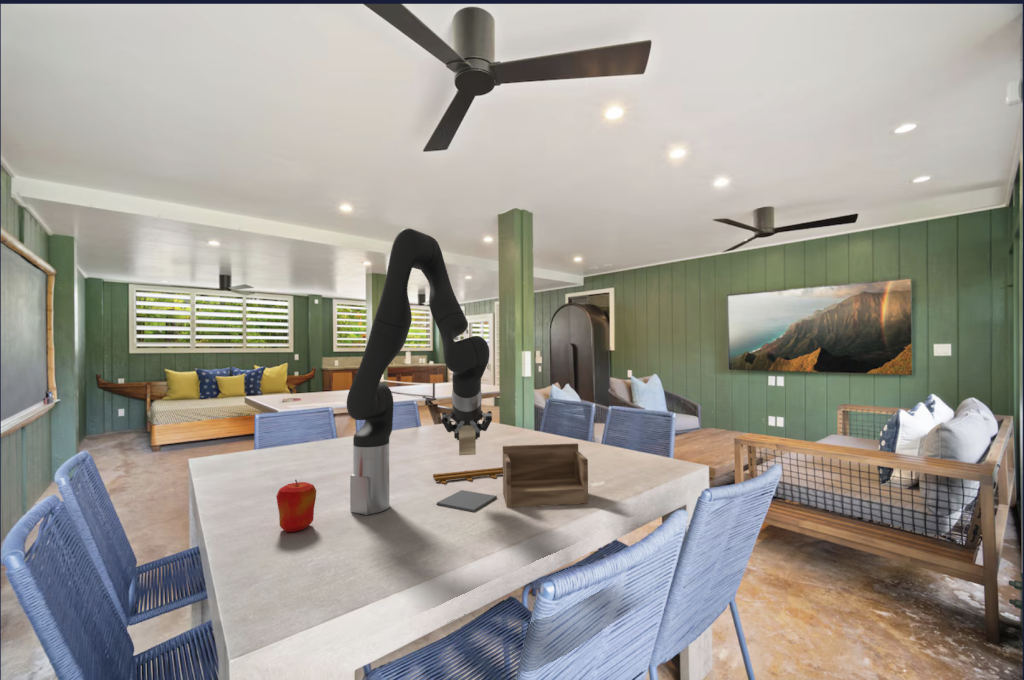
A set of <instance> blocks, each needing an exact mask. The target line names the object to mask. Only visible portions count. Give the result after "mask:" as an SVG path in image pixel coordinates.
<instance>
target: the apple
mask: <svg viewBox="0 0 1024 680" xmlns="http://www.w3.org/2000/svg"><path fill="white" fill-rule="evenodd" d="M275 498H276V503H277V510H278V515H279V520H278V521H279V527H280V528H281V529H282V530H283V531H284V532H286V533H295V532H299V531H302V530H304V529H307V528H308V527H309V526H310V525H311V524H312V523H313V521H314V515H315V514H314V512H315V505H316V499H317V489H316V487H315V486H314V484H313V483H309V482H306V481H298V480H297V479H295V482H292V483H288V484H286V485H284V486H282V487H280V488H279V489H278V491H277V494H276V497H275Z"/></svg>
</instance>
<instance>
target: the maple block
mask: <svg viewBox="0 0 1024 680" xmlns="http://www.w3.org/2000/svg"><path fill="white" fill-rule="evenodd" d="M476 442H477V440H476V437H475V429H473V427H472V425H465V426H462V428H461V430H459V440H458V454H459V456H476V455H477V452H476V451H477V450H476V449H477V448H476V446H477V445H476V444H477V443H476Z"/></svg>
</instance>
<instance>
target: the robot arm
mask: <svg viewBox="0 0 1024 680" xmlns="http://www.w3.org/2000/svg"><path fill="white" fill-rule="evenodd" d="M412 269H415V270H420V271H421V272H422V274H423V276H424V277H425V278H426V280H427V282H428V284H429V285H428V286H429V299H428V303H429V304H428V305H429V309H430V314H431V316H432V318H433V320H434V322H435V325H436V327H437V329H438V331H439V334H440V338H441V342H442V350H443V351H442V353H443V359H444V364H445V366H446V367H447V369H448V370H449V371H451V372H452V377H451V378H452V379H451V380H452V390H451V391H452V393H451V402H452V403H451V404H452V411H451V413H448V414H447V413H446V412H442V413H441V423H442V425H443V427H444V428H445V430H446V432H447V433H452V432H453V434H454V439H456V441H459V430H461V428H462V426H465V425H472V427H473V429H475V437H476V441H477V440H478V438H479V439H480V437H481V431H482V432H486V431H487V430H488V428H489V426H490V424H491V422H492V420H493V412H492V411H489V410H488V411H487V412H484V411H483V409H482V401H483V400H482V399H483V397H482V395H483V393H482V392H483V391H482V378H483V375H484V373H485V370H486V368H487V367H488V364H489V360H490V348H489V344H488V342H487V341H486V339H485V338H483V337H482V336H479V335H473V336H469V337H467V338H463V339H461V340H460V339H459V340H457V341H456V340H455V339H456V338H458V336H461V335H462V334H463V333H465V332H466V330H467V329H468V326H469V322H468V319H467V318H466V315H465V313H464V311H463V309H462V306H461V304H460V303H459V301H458V299H457V297H456V294H455V292H454V289H453V288H452V287H453V286H452V284H451V281H450V276H449V273H448V269H447V266H446V263H445V259H444V255H443V252H442V250H441V247H440V245H439V242H438V241H437V240H436V238H434V237H433V236H431V235H429V234H426V233H423V232H421V231H419V230H415V229H414V228H409V227H408V228H407V227H406V228H403V229H401V230H399V232H398V233H397V234H396V236H395V238H394V241H393V243H392V246H391V250H390V256H389V261H388V265H387V271H386V277H385V280H384V285H383V288H382V293H381V296H380V299H379V303H378V307H377V309H376V312H375V316H374V317H373V322H372V325H371V328H370V333H369V335H368V341H367V343H366V346H365V349H364V352H363V355H362V358H361V361H360V365H359V367H358V369H357V372H356V374H355V376H354V379H353V381H352V384H351V386H350V388H349V390H348V394H347V397H346V398H347V399H346V409H347V413H348V415H349V417H351V419H353V420H355V421H356V420H357V421H364V424H363V425H362V427H361V428H360V429H359V430H357V431H356V432H355V433H354V435H353V438H352V439H353V440H352V441H353V444H352V446H353V457H352V459H353V460H352V461H353V467H352V468H353V469H352V471H353V474H351V475H350V477H349V478H350V479H349V480H350V481H349V482H350V485H349V486H350V487H349V489H350V490H349V493H350V494H349V495H350V496H349V497H350V498H349V501H350V506H349V508H350V511H349V512H351V513H355V514H360V515H363V516H369V515H371V514H377V513H378V514H379V513H381V512H383V511H386V510H388V509H389V508H390V437H391V434H392V432H393V421H394V397H393V393H392V391H391V388H390V387H389V386H388V385H386V384H384V383H381V380H382V377H383V374H384V373H385V371H386V370H387V368H388V367H389V365H390V364H391V363H392V362H393V360H394V359H395V358H396V357H397V356H398V354H399V353H400V352H401V350H403V347H404V346H405V343H406V341H407V338H408V335H409V331H410V328H411V326H412V321H413V320H412V318H413V317H412V309H411V304H410V300H409V294H408V293H409V292H408V285H409V281H410V276H411V272H412V271H413V270H412ZM482 418H483V419H482ZM481 419H482V422H481V423H480V422H479V421H480V420H481ZM451 420H453V421H454V424H453V423H452V422H451Z"/></svg>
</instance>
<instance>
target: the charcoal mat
mask: <svg viewBox="0 0 1024 680" xmlns="http://www.w3.org/2000/svg"><path fill="white" fill-rule="evenodd" d="M495 499H498V498H497V495H494V494H493V495H492V494H487V493H481V492H476V491H469V490H463V489H461V490H458V491H457V492H455V493H453V494H451V495H449V496H447V497H445V498H443V499H441V500H439V501H437V502H436V506H440V505H441V506H442V507H445V506H446V507H447V508H452V509H456V510H460V511H461V510H462V511H466V512H467V511H468V512H472V513H474V512H476V511H478V510H480V509H481V508H483V507H485V506H486V505H488V504H489V503H491V502H493V501H494V500H495ZM484 505H485V506H484Z"/></svg>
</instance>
